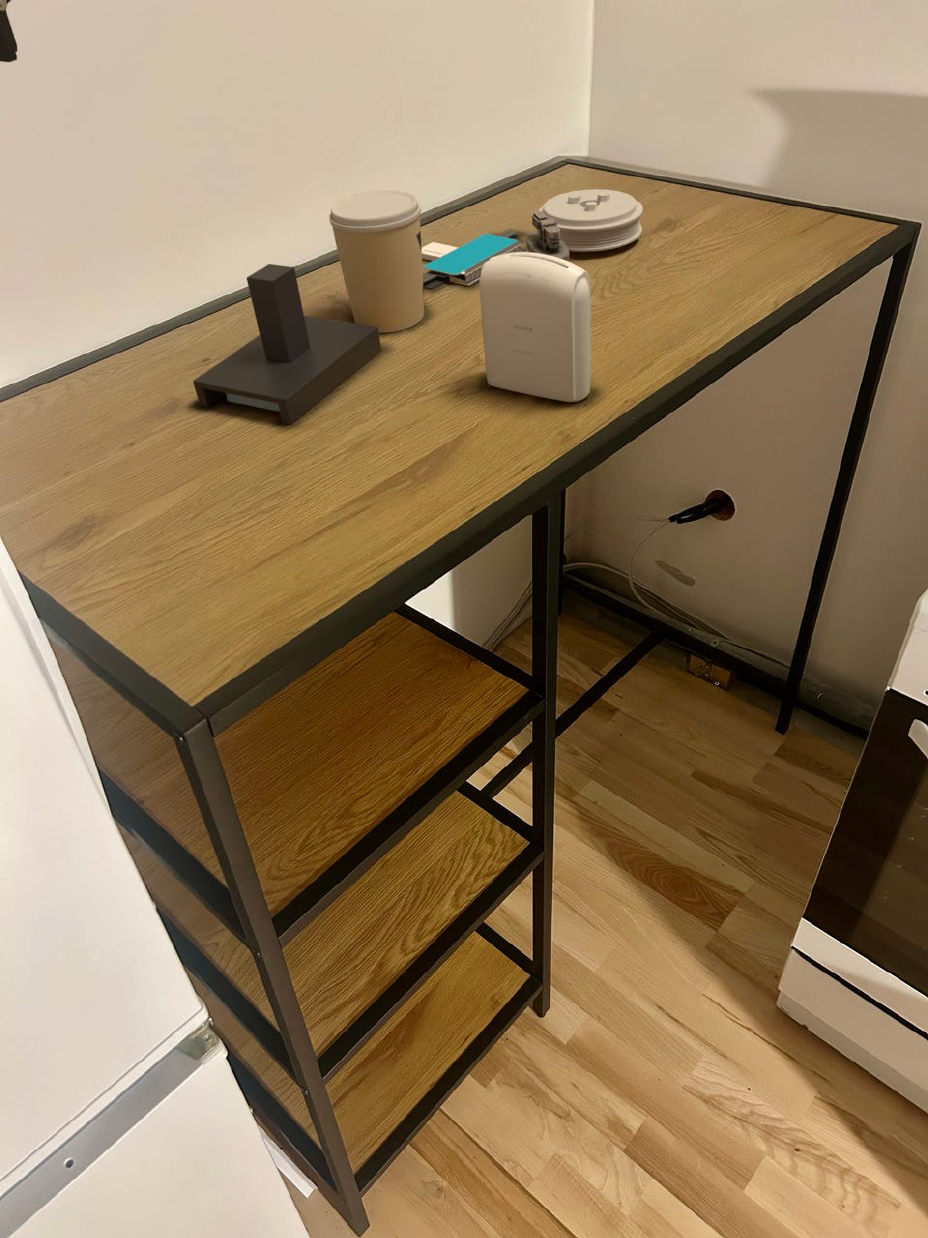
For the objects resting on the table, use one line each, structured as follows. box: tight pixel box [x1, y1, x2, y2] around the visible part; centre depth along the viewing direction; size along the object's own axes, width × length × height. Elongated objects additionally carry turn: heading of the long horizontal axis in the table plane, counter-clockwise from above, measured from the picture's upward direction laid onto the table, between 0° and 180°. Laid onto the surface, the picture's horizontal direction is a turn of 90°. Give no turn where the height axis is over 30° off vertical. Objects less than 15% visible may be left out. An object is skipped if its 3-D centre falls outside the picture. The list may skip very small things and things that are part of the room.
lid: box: [537, 188, 644, 253], centre depth 112 cm, size 13×13×5 cm
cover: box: [192, 263, 382, 425], centre depth 89 cm, size 16×11×11 cm
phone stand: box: [421, 228, 528, 290], centre depth 112 cm, size 20×12×2 cm, turn 141°
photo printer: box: [478, 252, 592, 403], centre depth 82 cm, size 10×4×12 cm, turn 57°
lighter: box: [525, 210, 570, 262], centre depth 95 cm, size 8×3×10 cm, turn 14°
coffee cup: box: [328, 189, 425, 334], centre depth 97 cm, size 9×9×12 cm
